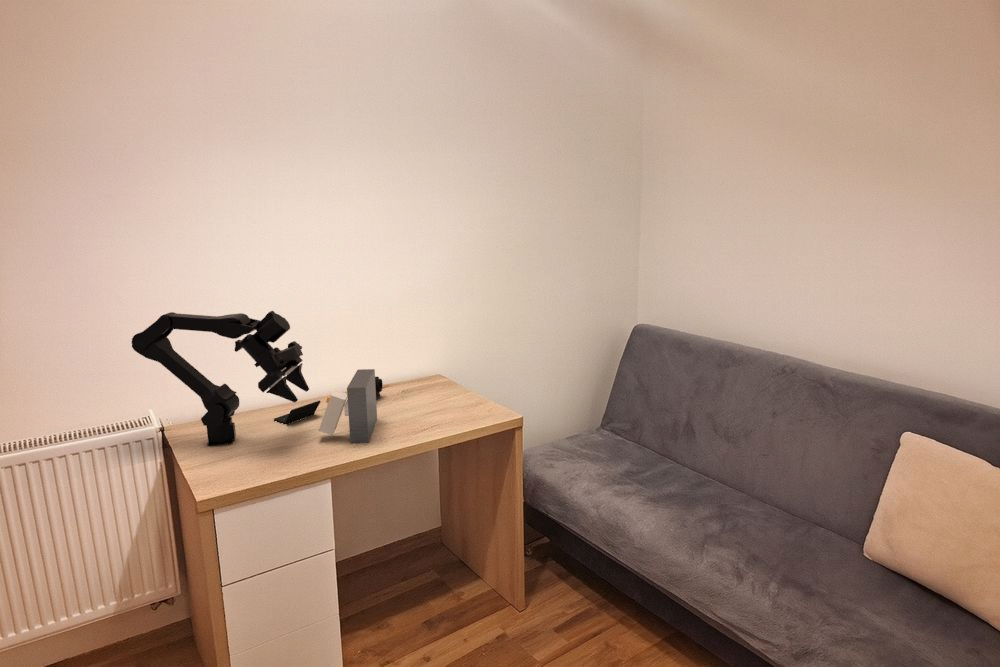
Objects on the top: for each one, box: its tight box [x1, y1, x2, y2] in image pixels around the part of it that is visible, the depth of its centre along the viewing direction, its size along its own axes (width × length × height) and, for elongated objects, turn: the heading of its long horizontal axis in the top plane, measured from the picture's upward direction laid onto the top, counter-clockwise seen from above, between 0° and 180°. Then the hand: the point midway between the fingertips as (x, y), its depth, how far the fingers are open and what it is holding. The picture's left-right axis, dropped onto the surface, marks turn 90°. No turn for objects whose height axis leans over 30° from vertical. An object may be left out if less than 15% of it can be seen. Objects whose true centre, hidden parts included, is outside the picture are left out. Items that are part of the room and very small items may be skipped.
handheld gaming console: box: [273, 400, 322, 425], centre depth 197 cm, size 12×7×10 cm
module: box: [317, 389, 348, 436], centre depth 180 cm, size 5×5×11 cm
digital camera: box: [375, 376, 384, 400], centre depth 213 cm, size 10×5×7 cm, turn 176°
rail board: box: [343, 368, 378, 444], centre depth 186 cm, size 6×18×16 cm, turn 3°
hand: (302, 395), depth 177 cm, fingers open, 9 cm apart
